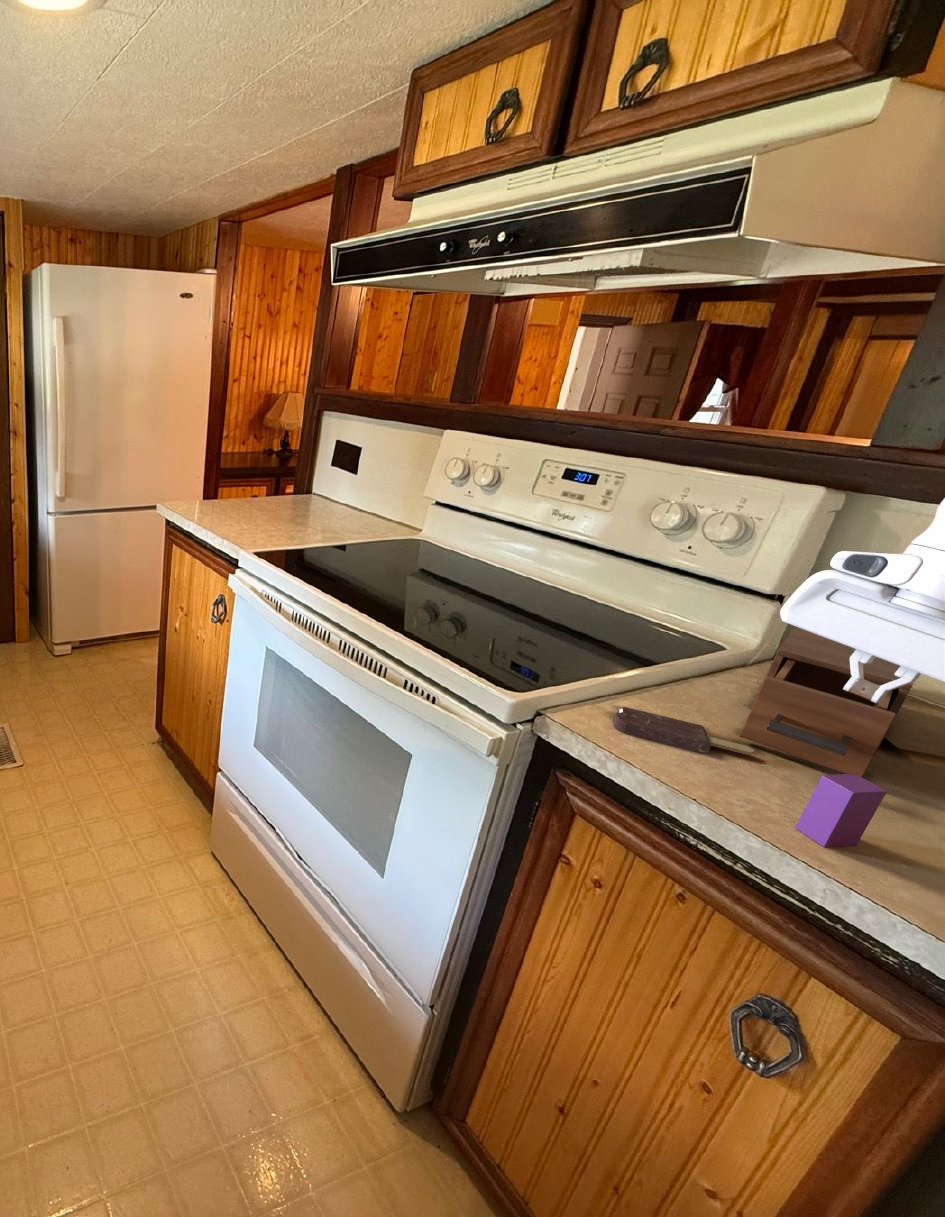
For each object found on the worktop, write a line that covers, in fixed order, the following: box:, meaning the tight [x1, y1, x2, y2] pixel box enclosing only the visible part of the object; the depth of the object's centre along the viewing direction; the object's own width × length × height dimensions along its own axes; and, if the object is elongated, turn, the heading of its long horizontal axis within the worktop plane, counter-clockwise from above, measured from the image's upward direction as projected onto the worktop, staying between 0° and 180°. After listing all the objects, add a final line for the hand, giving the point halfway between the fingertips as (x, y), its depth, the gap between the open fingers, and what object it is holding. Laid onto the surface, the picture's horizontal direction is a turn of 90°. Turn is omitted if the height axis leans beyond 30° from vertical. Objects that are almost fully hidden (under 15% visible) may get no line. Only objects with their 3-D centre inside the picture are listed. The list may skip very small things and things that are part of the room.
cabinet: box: [750, 626, 914, 757], centre depth 93 cm, size 16×13×11 cm
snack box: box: [794, 773, 888, 848], centre depth 69 cm, size 4×3×7 cm
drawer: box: [739, 658, 896, 778], centre depth 84 cm, size 19×11×9 cm, turn 129°
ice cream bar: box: [612, 706, 755, 756], centre depth 87 cm, size 5×2×15 cm
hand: (860, 696), depth 74 cm, fingers closed
